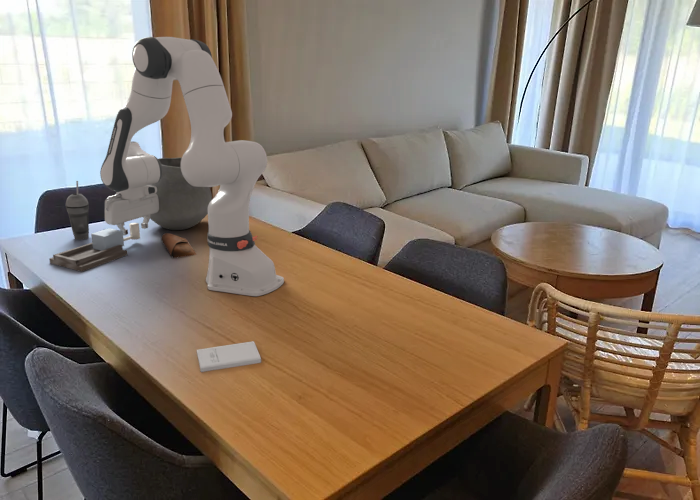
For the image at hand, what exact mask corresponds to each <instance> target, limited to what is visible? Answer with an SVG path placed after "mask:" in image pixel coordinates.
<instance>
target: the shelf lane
mask: <svg viewBox="0 0 700 500" xmlns="http://www.w3.org/2000/svg"><path fill="white" fill-rule="evenodd" d="M123 256H124V257H126V256H128V250H126V249H123V246H122V245H117V246H114V247H111V248H108V249H105V250H102V251H100V250H96V249H93V244H92V242H90V243H86V244H84V245H80V246H77V247H74V248H70V249H68V250H67V249H66V250H64V251H62V252H58V253H55V254H52V257H50V258H48V259H49V264H51V265H56V266H60V267H63V268H65V269H69V270H75V271H78V272H81V273H82V272H84V271H85V272H86V271H88V270H90V269H93V268H96V267H98V266H102V265H104V264H107V263H110V262H112V261H115V260H117V259H121V258H123Z"/></svg>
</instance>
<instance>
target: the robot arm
mask: <svg viewBox="0 0 700 500" xmlns="http://www.w3.org/2000/svg"><path fill="white" fill-rule="evenodd" d="M132 62H133V65H134V71H133V74H132V80H131V81H132V82H131V89H130V94H129V97H128V99H127V101H126V102H125V104H124V105H123V107H121V108H120V109H119V111H118V112H117V114H116V118H115V121H114V122H113V123H114V124H113V128H112V131H111V136H110V139H109V144H108V149H107V151H106V152H107V153H106V156H105V158H104V160H103V163H102V165H101V167H100V172H99V173H100V175H99V176H100V179H101V182H102V184H103V185H104V186H105V187H106V188H108V189H109V190H111V191H113V192H116V193H115V194H114V195H109V196H108V197H107V198H106V199H105V200H104V222H105V223H106V224H107V225H110V226H116V227H117V228H118V230H120V231H123V236H127V235H129V229H127V228H125V227H124V226H125V223H126V222H127V223H128V222H130V221H134V220H136V219H137V220H138V219H140V218H143V221H142V222H141V223H140V225H141V228H140V229H144V230H145V229H148V228H149V222H150V220H151V219H150V215H151V214H154V213H157V212H158V211H159V200H158V195H157V194H156V192H157V187H155V186H150V185H152V184H155V183H158V182H159V180H160V179H161V176H162V165H161V162H160V161H159V160H158V159H159V158H158V157H157V156H156V155H154V154H149V153H147V152H146V151H144V149H142V148H141V146H140V144H139V142H137V141H132V140H133V137H134V136H135V134H137V133H139V131H141V130H142V129H144V128H146V127H148V126H150V125H152V124H155V123H157V122H159V121H161V120H162V119H164V118H165V116H166V115H167V114H168V112H169V110H170V107H171V101H172V94H173V83H174V81H178V83H179V86H180V90H181V92H182V94H181V95H182V97H183V99H184V103H185V107H186V111H187V113H188V118H189V122H190V128H191V129H190V130H191V131H190V132H191V133H190V135H191V136H190V141H189V145H188V147H187V148H186V149H185V151H184V152H183V154H182V156H181V157H182V159H181V172H182V175H183V177H184V178H185V180H186V181H187V182H188V183H189V184H190V185H192V186H196V187H209V188H212V187H218V186H219V189H218V190H217V193H216V194H215V196H214V197H212V200H211V201H210V203H209V205H208V214H207V220H208V221H207V223H208V232H207V237H206V239H207V245H208V247H209V249H208V250H209V257H208V266H207V267H208V269H207V273H206V277H205V282H206V285H207V290H210V291H214V292H221V293H229V294H236V295H243V296H250V297H259V296H263V295H267V294H270V293H272V292H274V291H276V290H277V289H279V288H280V287H282V286H283V285H284V282H285V279H284V276H281V275H278V274H277V272H276V267H275V263H274V261H273V260H272V259H271V258H270V257H269V256H268V255H266V254H265V253H264V252H263V251H262V250H261V249H260V248H258V246H257V245H256V242H255V241H257V240H258V235H255V236H253V234H252V232H251V230H250V210H249V209H250V202H251V197H252V193H253V190H254V188H255V186H256V183H257V181H258V179H259V178H260V177H261V175H262V174H263V173H264V172H265V170H266V169H267V165H268V155H267V152H266V150H265V149H264V147H263V145H262V144H260V143H259V142H256V141H252V140H245V139H243V140H242V139H239V140H233V141H231V140H230V141H226V139H225V136H224V130H225V128H226V127H227V126H228V125H229V124H230V122H231V121H232V117H233V112H232V108H231V105H230V102H229V98H228V95H227V92H226V88H225V86H224V85H225V84H224V82H223V79H222V76H221V74H220V72H219V69H218V67H217V64H216V63H215V61H214V59H213V55H212V52H211V50H210V48H209V46H208V45H207V44H206V43H205V42H203V41H201V40H198V39H194V38H193V39H192V38H191V39H186V38H183V37H182V38H181V37H174V36H158V37H157V36H156V37H154V36H146V37H143V38H140V39H138V40H137V41H136V42H135V43H134V45H133V48H132Z"/></svg>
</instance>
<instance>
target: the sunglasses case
mask: <svg viewBox="0 0 700 500" xmlns="http://www.w3.org/2000/svg"><path fill="white" fill-rule="evenodd" d="M160 241H161V242H162V245H163V246H164V247H165V248H166V250H167V252H168V254H169V256H171V257H172V258H173V259H177V257H178V258H184V257H191V256H196V255H197V253H196V251H195V249H194V248H193V247H192V245H191V244H190V242H189V241H188V239H187V238H185V237H180V236H179V235H176V234H173V233H169V232H165V233H163V235H161V239H160Z"/></svg>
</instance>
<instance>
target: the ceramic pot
mask: <svg viewBox="0 0 700 500" xmlns="http://www.w3.org/2000/svg"><path fill="white" fill-rule="evenodd" d="M157 159H158V160H159V161H160V162H161V165H162V176H161V179H160V180H159V182H158V183H155V184H152V185H150V186H155V187H157V192H156V194H157V195H158V200H159V211H158V212H157V213H154V214H151V215H150V220H151V221H153V222H154V223H155V224H157V225H158V226H159V227H162V228H164V229H165V230H172V231H184V230H187V229H190V228H193V227H194V226H196V225H197V224H199V223H200V222H201V221H202V220H204V219H205V218H206V217H207V216H208V205H209V203H210V201H211V200H212V199H213V196H212V190H211V187H196V186H192V185H190V184H189V183H188V182H187V181H186V180H185V178H184V177H183V175H182V172H181V159H182V156H181V157H171V158H170V157H160V158H157Z"/></svg>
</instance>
